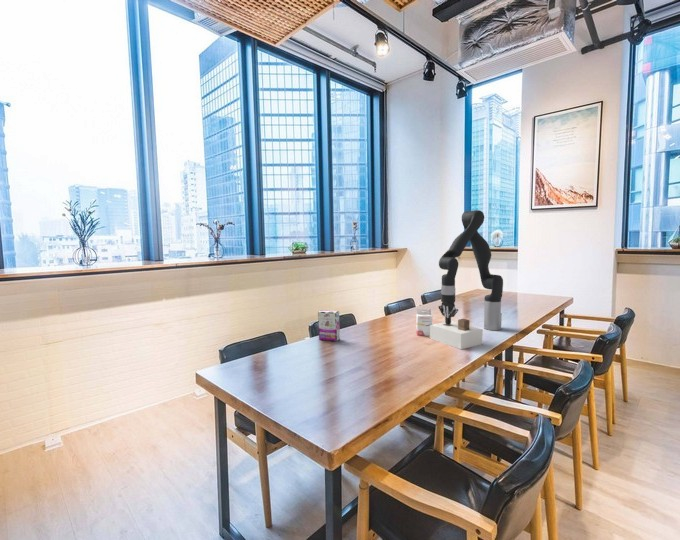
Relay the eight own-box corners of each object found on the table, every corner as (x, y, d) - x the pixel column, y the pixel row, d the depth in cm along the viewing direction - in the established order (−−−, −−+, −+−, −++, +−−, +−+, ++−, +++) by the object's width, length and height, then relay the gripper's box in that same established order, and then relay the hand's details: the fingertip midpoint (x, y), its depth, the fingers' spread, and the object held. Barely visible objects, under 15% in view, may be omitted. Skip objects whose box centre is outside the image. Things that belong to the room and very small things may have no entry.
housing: (450, 334, 206) (450, 320, 205) (482, 344, 187) (482, 329, 186) (430, 338, 198) (430, 324, 197) (461, 349, 179) (461, 333, 178)
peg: (463, 331, 190) (463, 318, 189) (469, 333, 186) (469, 320, 185) (458, 332, 188) (458, 319, 187) (463, 334, 184) (464, 321, 184)
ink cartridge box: (417, 335, 204) (417, 310, 203) (416, 333, 209) (416, 309, 208) (432, 335, 203) (432, 310, 202) (431, 333, 208) (431, 309, 207)
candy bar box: (340, 339, 201) (339, 310, 199) (336, 341, 196) (336, 312, 195) (322, 337, 205) (321, 309, 203) (318, 339, 200) (317, 311, 199)
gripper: (462, 294, 191) (462, 325, 192) (444, 291, 202) (444, 320, 204) (452, 295, 187) (452, 327, 189) (434, 292, 198) (434, 322, 200)
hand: (448, 324), depth 196 cm, fingers closed
